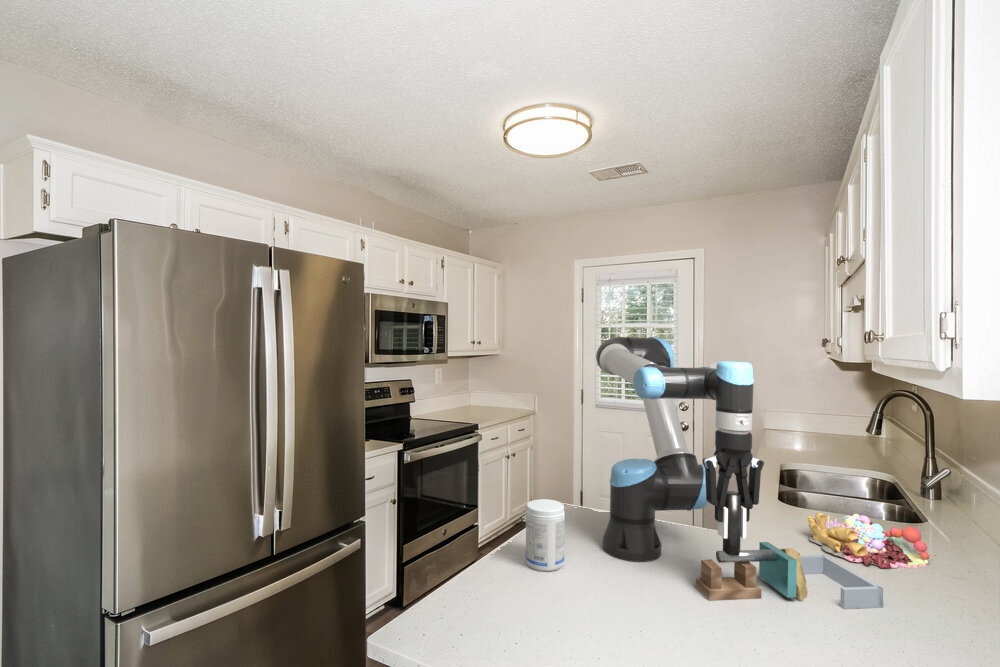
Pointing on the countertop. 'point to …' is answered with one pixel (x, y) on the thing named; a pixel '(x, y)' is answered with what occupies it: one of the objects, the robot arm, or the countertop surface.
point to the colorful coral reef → (868, 542)
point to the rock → (798, 575)
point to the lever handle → (757, 552)
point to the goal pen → (845, 582)
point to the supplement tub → (545, 534)
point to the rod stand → (728, 582)
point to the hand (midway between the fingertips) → (731, 535)
